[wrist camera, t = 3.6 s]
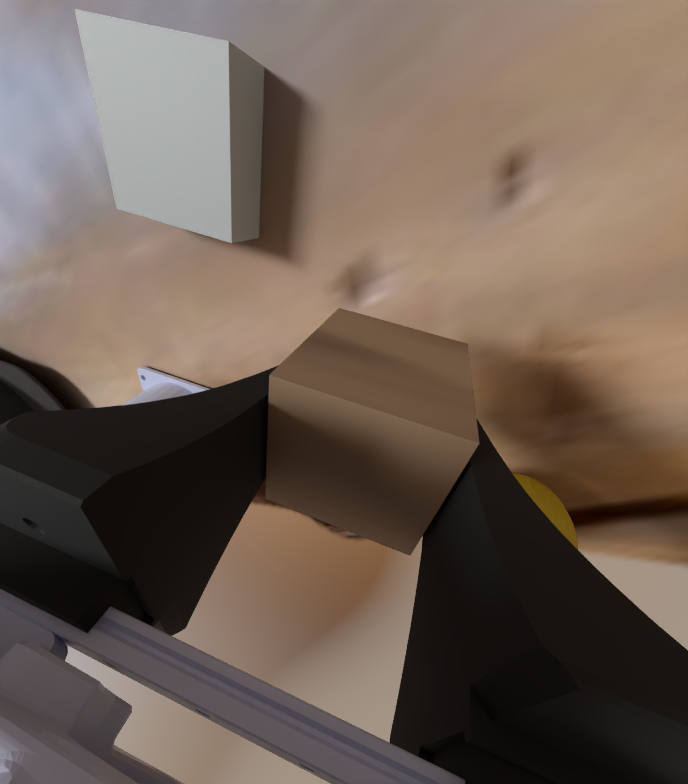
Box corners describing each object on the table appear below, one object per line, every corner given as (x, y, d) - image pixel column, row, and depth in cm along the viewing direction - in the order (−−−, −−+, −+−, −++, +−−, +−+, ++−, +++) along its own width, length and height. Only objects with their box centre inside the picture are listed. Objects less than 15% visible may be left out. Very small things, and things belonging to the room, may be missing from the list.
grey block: (261, 237, 18) (231, 243, 15) (160, 207, 18) (116, 208, 16) (268, 69, 14) (228, 41, 11) (137, 41, 14) (74, 9, 12)
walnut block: (423, 440, 12) (409, 555, 8) (322, 406, 13) (265, 498, 9) (467, 344, 10) (479, 443, 6) (339, 308, 10) (268, 375, 6)
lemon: (568, 493, 20) (623, 630, 14) (488, 510, 23) (502, 629, 17) (531, 436, 19) (572, 559, 12) (450, 462, 22) (450, 572, 15)
